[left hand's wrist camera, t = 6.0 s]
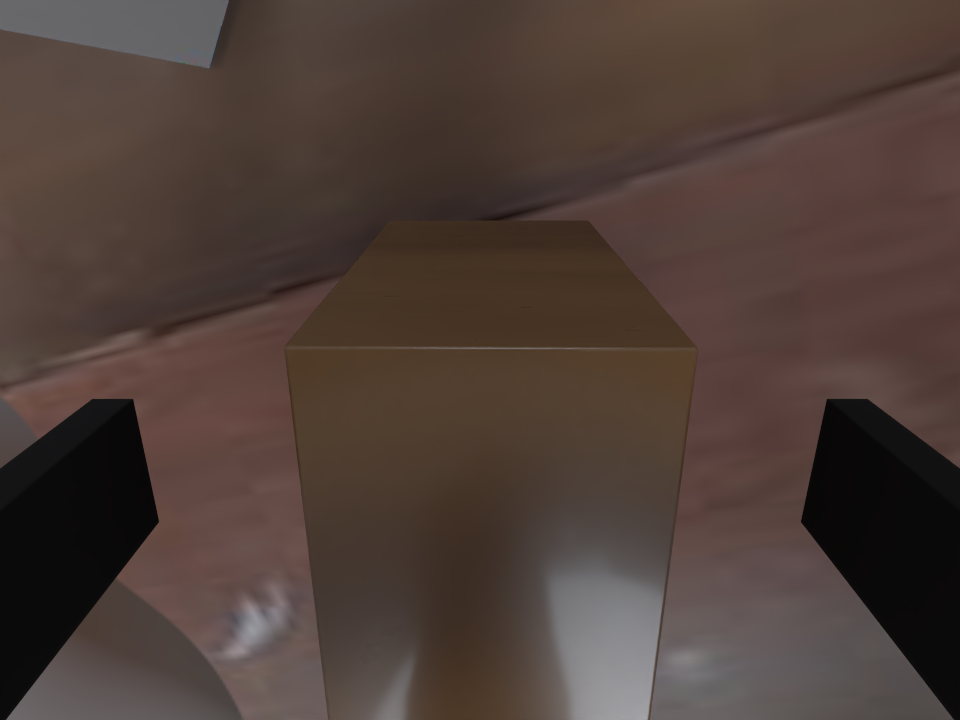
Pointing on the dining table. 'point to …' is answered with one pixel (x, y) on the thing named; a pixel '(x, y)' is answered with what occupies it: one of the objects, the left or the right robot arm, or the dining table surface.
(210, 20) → the electronic device
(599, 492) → the box
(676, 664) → the dining table surface
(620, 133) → the dining table surface
